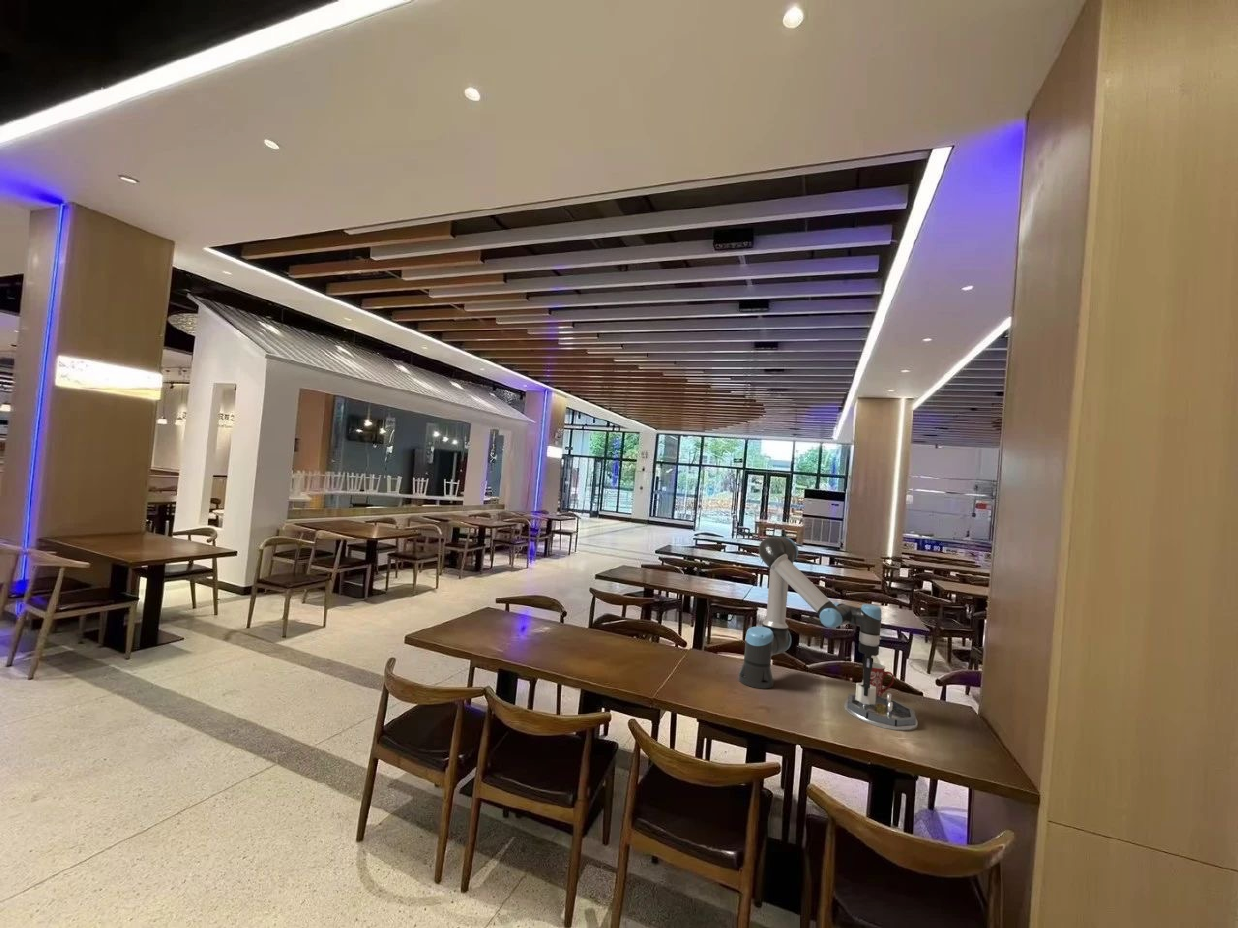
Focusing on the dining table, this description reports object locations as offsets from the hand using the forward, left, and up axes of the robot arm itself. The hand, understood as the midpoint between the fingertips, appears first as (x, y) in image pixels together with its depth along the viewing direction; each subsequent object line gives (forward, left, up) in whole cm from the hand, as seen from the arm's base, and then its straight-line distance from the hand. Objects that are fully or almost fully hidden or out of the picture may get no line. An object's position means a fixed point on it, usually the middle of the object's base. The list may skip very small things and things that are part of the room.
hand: (864, 700), depth 214 cm
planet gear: (0, 0, 0) cm, 0 cm away
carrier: (+6, 0, -4) cm, 7 cm away
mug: (+5, +22, -5) cm, 23 cm away
